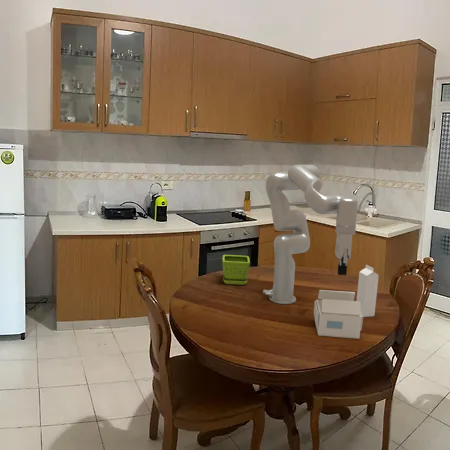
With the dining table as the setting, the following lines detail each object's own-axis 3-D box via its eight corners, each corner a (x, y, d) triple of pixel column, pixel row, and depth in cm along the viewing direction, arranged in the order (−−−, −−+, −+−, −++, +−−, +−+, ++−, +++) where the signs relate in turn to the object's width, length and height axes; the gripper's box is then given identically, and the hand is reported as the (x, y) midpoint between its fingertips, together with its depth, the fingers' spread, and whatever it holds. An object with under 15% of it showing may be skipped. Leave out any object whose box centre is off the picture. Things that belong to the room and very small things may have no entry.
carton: (316, 335, 193) (318, 313, 191) (312, 319, 209) (314, 299, 207) (361, 338, 192) (363, 317, 190) (354, 322, 207) (356, 302, 205)
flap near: (321, 312, 191) (321, 312, 191) (322, 298, 193) (322, 298, 193) (359, 315, 190) (360, 314, 190) (359, 301, 192) (360, 301, 191)
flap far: (353, 301, 205) (353, 300, 205) (355, 292, 202) (355, 292, 202) (318, 298, 206) (318, 297, 207) (319, 290, 203) (319, 289, 203)
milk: (362, 317, 214) (367, 268, 209) (355, 312, 220) (359, 264, 215) (374, 316, 216) (379, 268, 211) (367, 311, 221) (371, 264, 217)
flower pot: (248, 286, 248) (250, 262, 245) (221, 285, 248) (222, 261, 245) (247, 278, 261) (249, 255, 259) (221, 277, 261) (222, 254, 259)
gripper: (333, 225, 199) (330, 268, 203) (338, 232, 185) (334, 279, 188) (352, 226, 199) (348, 269, 202) (358, 233, 184) (354, 280, 187)
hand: (341, 274), depth 195 cm, fingers closed
